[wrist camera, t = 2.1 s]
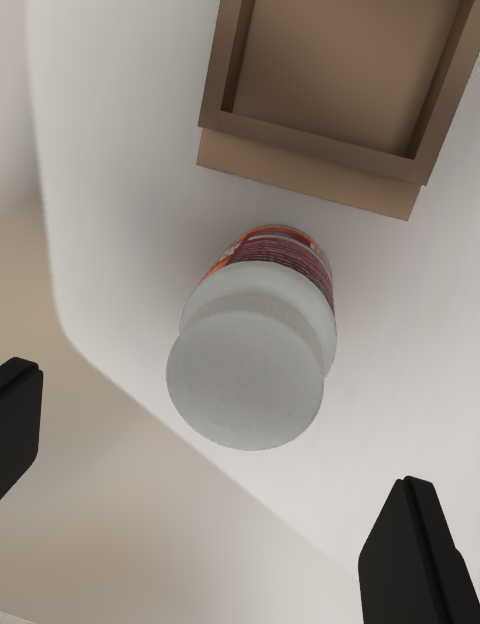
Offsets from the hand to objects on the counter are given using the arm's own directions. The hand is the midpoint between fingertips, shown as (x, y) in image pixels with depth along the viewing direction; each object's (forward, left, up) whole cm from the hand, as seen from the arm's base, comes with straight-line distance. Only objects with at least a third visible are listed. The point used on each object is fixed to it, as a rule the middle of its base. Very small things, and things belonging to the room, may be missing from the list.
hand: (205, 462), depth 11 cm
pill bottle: (0, 0, -15) cm, 15 cm away
